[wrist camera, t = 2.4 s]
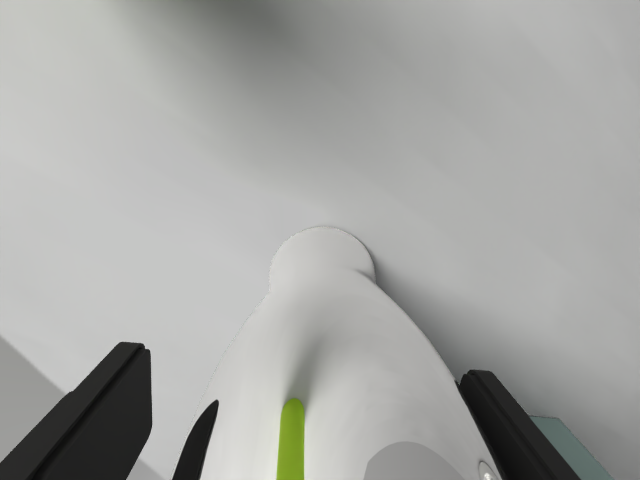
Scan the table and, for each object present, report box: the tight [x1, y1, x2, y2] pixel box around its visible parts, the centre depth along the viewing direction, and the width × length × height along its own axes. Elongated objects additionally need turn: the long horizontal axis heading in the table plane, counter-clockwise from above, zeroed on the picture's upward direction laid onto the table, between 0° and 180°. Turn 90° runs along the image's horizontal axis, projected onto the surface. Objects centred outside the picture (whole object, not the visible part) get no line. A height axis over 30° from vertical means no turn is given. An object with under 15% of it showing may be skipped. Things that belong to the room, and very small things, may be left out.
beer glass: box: [170, 227, 510, 480], centre depth 11 cm, size 7×7×15 cm
